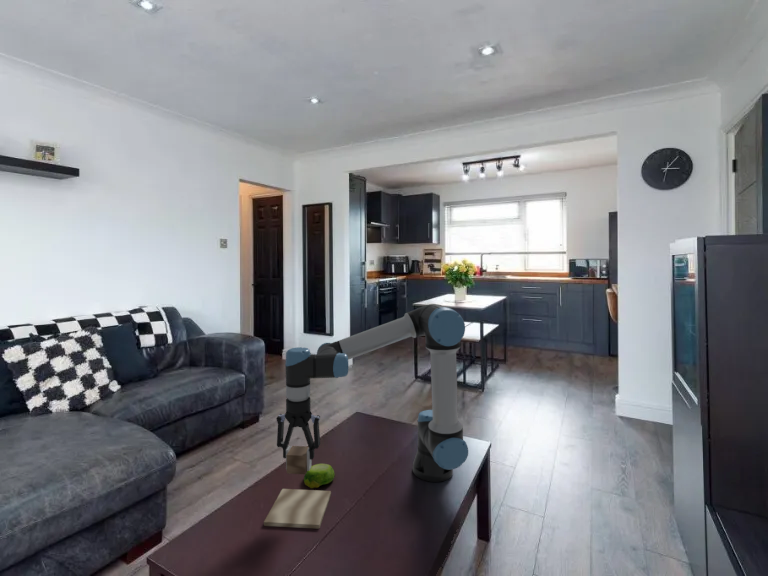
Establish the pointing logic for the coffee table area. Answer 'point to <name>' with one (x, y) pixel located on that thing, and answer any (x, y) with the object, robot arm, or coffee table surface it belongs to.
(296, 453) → the walnut cube
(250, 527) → the coffee table surface
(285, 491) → the oak board
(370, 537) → the coffee table surface
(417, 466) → the robot arm
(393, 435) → the coffee table surface
